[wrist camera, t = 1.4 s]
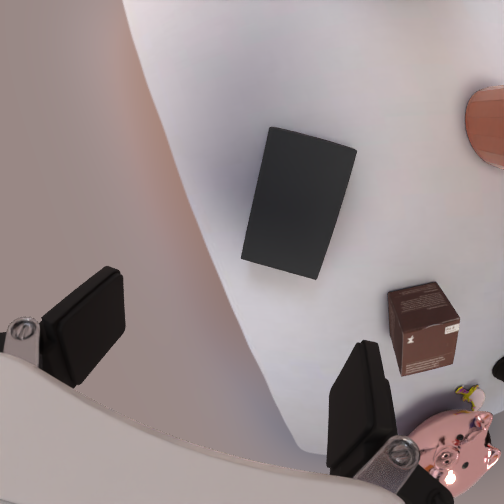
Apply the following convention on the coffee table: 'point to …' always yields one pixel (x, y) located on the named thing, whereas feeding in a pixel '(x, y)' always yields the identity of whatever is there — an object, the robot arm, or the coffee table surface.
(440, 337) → the box
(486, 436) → the piggy bank
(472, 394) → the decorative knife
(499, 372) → the chess piece
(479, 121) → the cup
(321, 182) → the black rectangular block
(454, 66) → the coffee table surface
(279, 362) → the coffee table surface
